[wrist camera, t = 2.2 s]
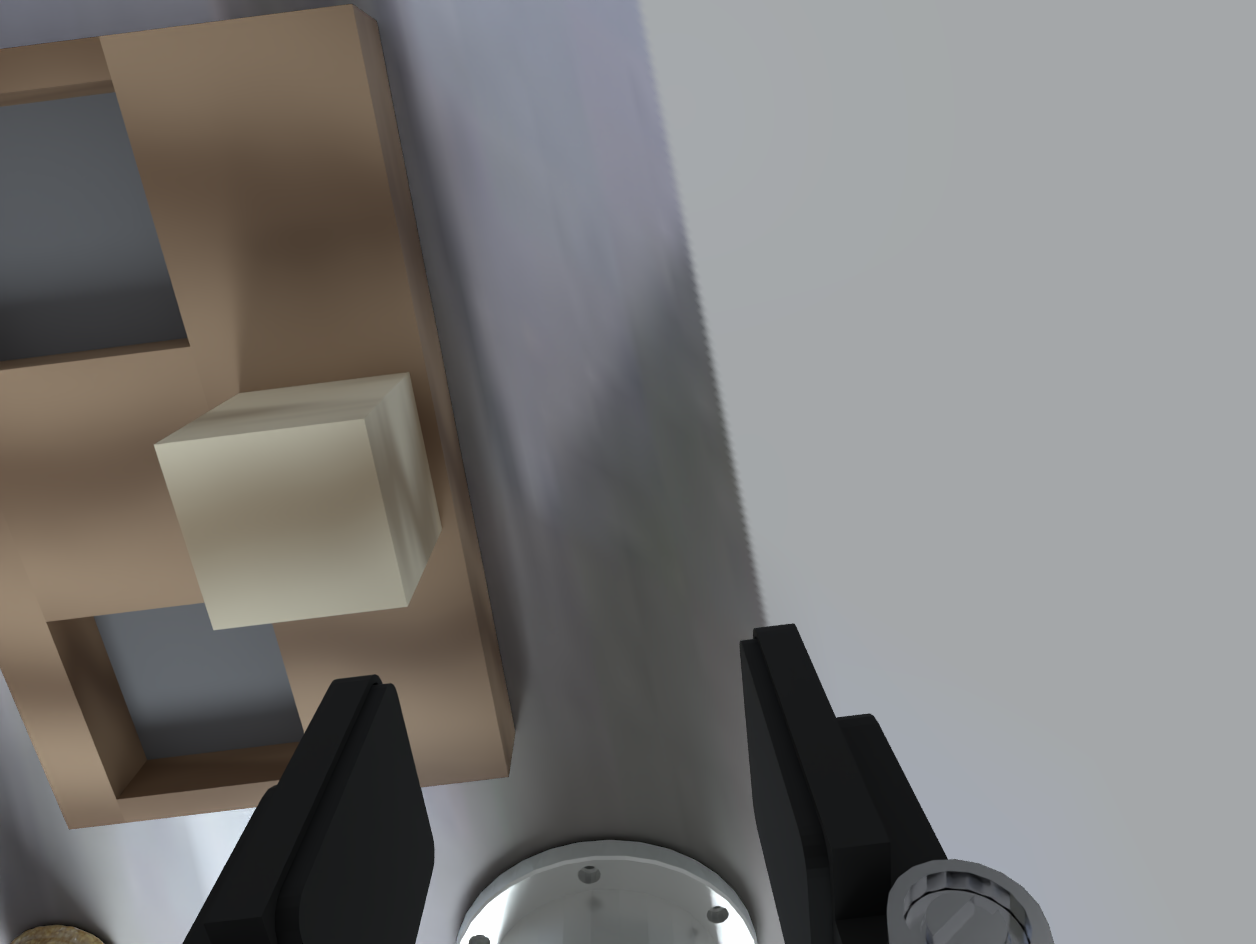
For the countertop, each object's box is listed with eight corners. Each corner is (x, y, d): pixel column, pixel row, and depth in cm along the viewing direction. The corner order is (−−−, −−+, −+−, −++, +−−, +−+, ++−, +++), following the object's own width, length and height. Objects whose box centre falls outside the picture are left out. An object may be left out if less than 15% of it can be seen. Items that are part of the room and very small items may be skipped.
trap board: (515, 732, 32) (502, 818, 27) (-36, 798, 32) (-133, 894, 28) (376, 20, 24) (328, -14, 19) (-357, 115, 24) (-563, 102, 20)
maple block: (442, 529, 26) (407, 606, 21) (282, 548, 26) (213, 630, 22) (409, 371, 25) (363, 418, 20) (239, 393, 25) (153, 444, 20)
